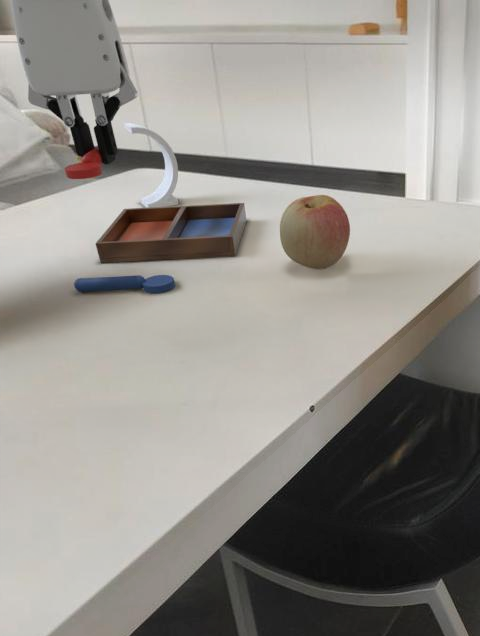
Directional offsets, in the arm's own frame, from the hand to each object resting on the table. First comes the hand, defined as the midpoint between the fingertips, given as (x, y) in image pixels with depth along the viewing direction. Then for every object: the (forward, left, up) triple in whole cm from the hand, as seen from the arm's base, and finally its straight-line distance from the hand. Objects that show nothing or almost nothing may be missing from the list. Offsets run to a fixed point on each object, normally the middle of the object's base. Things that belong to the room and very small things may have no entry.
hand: (99, 161), depth 80 cm
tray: (+4, +12, -13) cm, 18 cm away
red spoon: (0, -2, 0) cm, 2 cm away
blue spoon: (+1, -6, -13) cm, 15 cm away
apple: (+24, -1, -13) cm, 28 cm away
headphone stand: (-2, +32, -13) cm, 35 cm away
